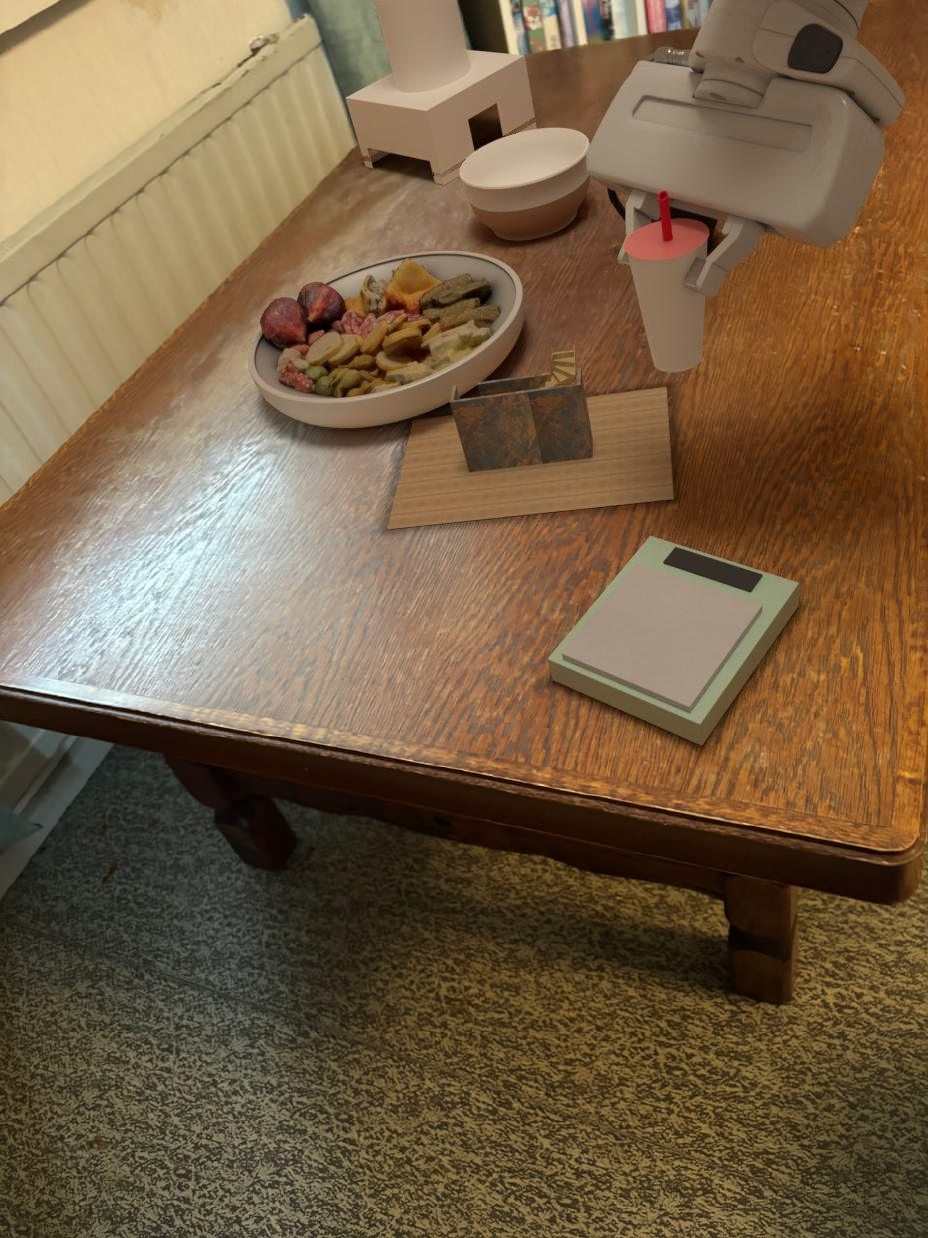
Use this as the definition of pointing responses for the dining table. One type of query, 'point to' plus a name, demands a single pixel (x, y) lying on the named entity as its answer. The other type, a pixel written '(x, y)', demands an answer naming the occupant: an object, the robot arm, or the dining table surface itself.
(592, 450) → the ruin model on sheet
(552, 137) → the bowl
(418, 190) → the dining table surface
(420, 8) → the paper towel holder
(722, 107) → the robot arm
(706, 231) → the cup
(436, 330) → the bowl
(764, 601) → the scale
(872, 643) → the dining table surface
